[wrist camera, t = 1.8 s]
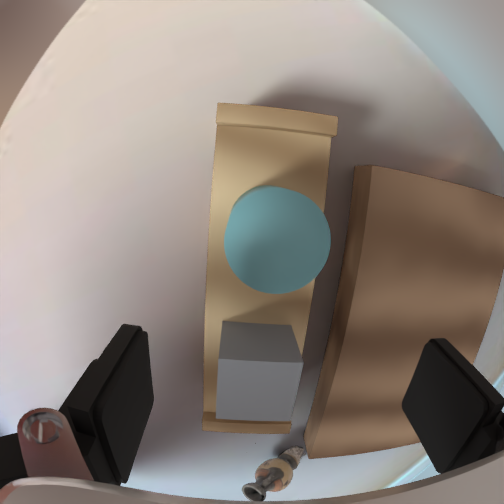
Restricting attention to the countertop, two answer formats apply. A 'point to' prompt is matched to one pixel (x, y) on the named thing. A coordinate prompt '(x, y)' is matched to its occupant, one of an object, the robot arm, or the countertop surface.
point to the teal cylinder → (276, 239)
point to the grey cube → (257, 372)
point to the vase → (273, 474)
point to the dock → (402, 301)
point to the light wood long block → (222, 200)
